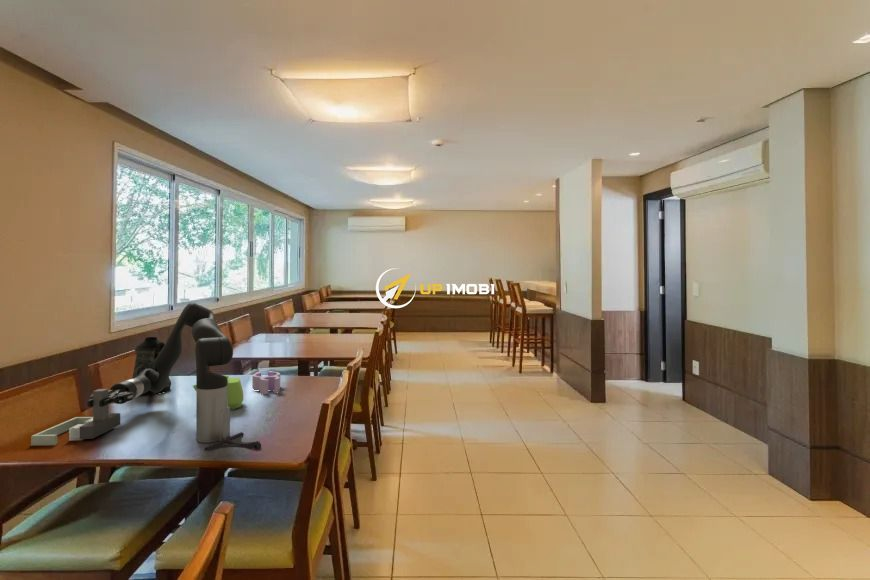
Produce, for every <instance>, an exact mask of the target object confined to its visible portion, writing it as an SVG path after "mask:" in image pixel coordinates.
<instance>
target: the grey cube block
mask: <svg viewBox="0 0 870 580" xmlns="http://www.w3.org/2000/svg"><path fill="white" fill-rule="evenodd" d="M82 425H84V424H78V425H75V426H73V427H71V428H69V430H68V434H69V435H68V436H69V437H68V441H84V440H85V439H80V426H82Z"/></svg>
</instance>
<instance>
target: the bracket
mask: <svg viewBox="0 0 870 580" xmlns="http://www.w3.org/2000/svg"><path fill="white" fill-rule="evenodd" d="M243 435H244V432H242V431H240V432H238V433H236V434H234V435H231V436H228V437H226V438H225V439H224V440H222V441H216V442H214V443H212V444H211V445H208V446H205V448H204V451H206V450H207V451H214V450H219V449H224V448H232V447H233V448H234V447H243V448H248V449H253V448H254V449H253V450H260V449H262V444H261V442H260V441H259V440H256V441H251V442H243V441H242V438H243V437H244V436H243ZM255 448H256V449H255ZM259 448H260V449H259Z"/></svg>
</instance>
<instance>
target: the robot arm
mask: <svg viewBox="0 0 870 580" xmlns="http://www.w3.org/2000/svg"><path fill="white" fill-rule="evenodd" d="M185 326H188V327H191V328H192V329H191V334H192V335H191V336H192V339H193V340H194V342H195V348H194V350H195V351H194V353H195V354H194V355H195V368H196V370H195V371H196V375H195V376H196V383H195V385H196V390H195V392H196V396H195V397H196V400H195V401H196V402H195V403H196V407H195V408H196V410H195V411H196V423H195V424H196V432H195V433H196V441H197V442H198V443H206V444H207V443H210V444H211V443H217V442H219V441H222V440H224V439H226V438H229V437H230V435H231V410H230V407H228V380H227V377H226V376H224V375H225V374H224V375H223V374H219V373H215V372H212V371H211V370H209V369H208V367H215V366H217V367H218V366H225V365H227V364H229V363H230V362H231V361H232V360H233V355H234V349H233V345H232V344H233V343H232V342H231V340H230V339H229V337H228V336H226V334H224V333H223V332H222V330H221V328H220V326H219V324H218V323H217V321H216V318H215V314H214V312H213V311H212V310H211V309H209V308H207V307H204V306H202V305H200V304H198V303H197V302H196V303H195V302H189V303H188V304H186V305H185V306H184V308H183V310H182V311H181V313H180V314H179V316H178V319H177V320H176V322H175V325H173V328H172V330H171V331H170V332H171V333H170V334H169V336H168V338H167V341H165V343H164V344H165V346H164V347H163V349H162V350H161V352H160V353H159V355H158V356H157V358H156V359H155V361H154V363H153V364H154V366H155V368H156V369H157V370H158V371H159V373H158V372H156V371H155V370H153V369H145V370H143V371H142V372H141V373H140V374H139V375H138V376H137V377H135V378H133V379H132V378H130V379H126V380H123V381H120V382H117V383H115V384H112V386H111V387H110V389H108V398H105V399H102V400H100V401H99V407H103V406H105V405H108V406H109V405H112V404H116V405H117V404H118V405H123V404H126V403H127V402H130V401H133V400H135V399H136V398H138V397H141V396H140V395H142V394H144V393H146V392H148V391H149V390H150V391H152V392H154V393H157V392H160V391H162V390H163V389H164V388H165V386H166V384H167V382H168V378H170V374H171V371H172V369H173V368H174V366H175V365H176V363H177V361H178V360H179V358H180V356H181V354H182V350H183V343H182V334H183V333H182V332H183V329H184V327H185ZM86 404H87V407H88V408H93V393H92V394H91V395H90V396H89V399H88V400H87V403H86Z"/></svg>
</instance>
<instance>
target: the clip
mask: <svg viewBox="0 0 870 580" xmlns="http://www.w3.org/2000/svg"><path fill="white" fill-rule="evenodd" d="M251 377H252V388H253V389H254V390H259V391H260V392H259V393H262V394H268V395H269V391H268V390H274V391H273V394H274V393H277V392H279V393H280V388H281V373H280V372H278V371H273V370H270V371H268V372H267V375H266V376H262V372H261V371H256V372H255V373H253V374H252V376H251ZM279 387H280V388H279ZM262 394H261V395H262ZM277 394H278V393H277Z"/></svg>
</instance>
